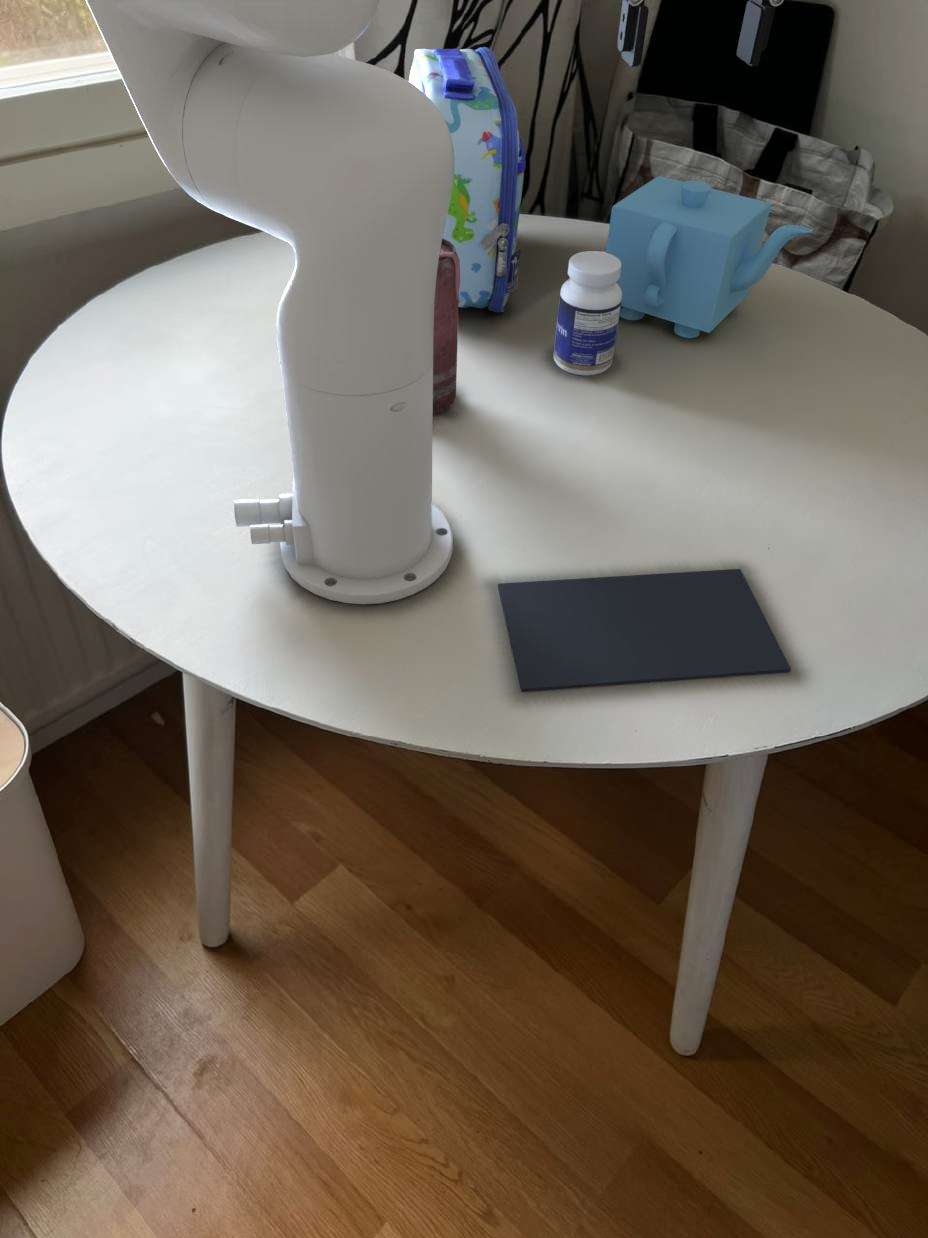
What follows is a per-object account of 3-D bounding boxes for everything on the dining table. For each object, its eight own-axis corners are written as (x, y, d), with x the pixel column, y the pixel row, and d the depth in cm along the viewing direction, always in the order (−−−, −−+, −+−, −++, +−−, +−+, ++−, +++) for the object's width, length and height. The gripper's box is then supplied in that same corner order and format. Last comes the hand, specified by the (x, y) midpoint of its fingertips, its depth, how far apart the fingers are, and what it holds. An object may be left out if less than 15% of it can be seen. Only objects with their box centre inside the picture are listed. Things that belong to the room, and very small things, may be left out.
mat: (521, 692, 58) (521, 689, 58) (497, 586, 65) (497, 583, 65) (790, 672, 60) (791, 668, 60) (739, 571, 67) (740, 568, 67)
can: (450, 424, 80) (454, 267, 70) (380, 414, 81) (374, 258, 71) (464, 389, 84) (469, 236, 75) (397, 380, 85) (394, 228, 75)
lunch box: (521, 329, 93) (540, 101, 78) (415, 332, 92) (414, 100, 77) (488, 227, 111) (498, 26, 97) (399, 228, 110) (396, 25, 96)
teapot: (585, 322, 95) (602, 192, 86) (650, 271, 104) (671, 149, 95) (751, 376, 88) (788, 241, 79) (804, 315, 97) (843, 188, 88)
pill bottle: (551, 346, 91) (562, 246, 84) (609, 349, 91) (624, 249, 84) (553, 376, 87) (565, 273, 80) (614, 378, 87) (630, 276, 80)
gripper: (631, -235, 57) (595, 76, 69) (889, -226, 59) (811, 74, 71) (600, -240, 62) (571, 49, 74) (838, -231, 64) (773, 48, 76)
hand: (689, 61), depth 73 cm, fingers open, 9 cm apart
